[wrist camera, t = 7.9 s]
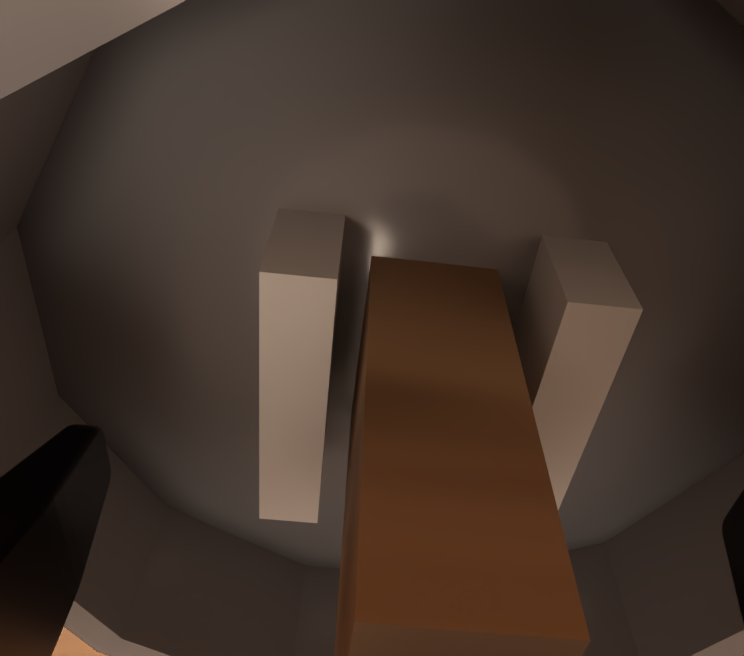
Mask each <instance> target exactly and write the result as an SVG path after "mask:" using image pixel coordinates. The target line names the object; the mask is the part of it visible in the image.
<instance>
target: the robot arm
mask: <svg viewBox="0 0 744 656" xmlns="http://www.w3.org/2000/svg"><path fill="white" fill-rule="evenodd" d="M110 478H111V464H110V459H109V454H108V449H107V444H106V439H105V434H104V431H103V430H102V428H101V427H98V426H92V425H81V424H72V425H69V426H67V427H65V428H64V429H63V430H61V431H60V432H59V433H57V434H56V435H55V436H53V437H52V438H51V439H49V440H48V441H47V442H46V443H44V444H43V445H42V446H40V447H39V448H38V449H36V450H35V451H34V452H32V453H31V454H30V455H29V456H27V457H26V458H25V459H23V460H22V461H21V462H19V463H18V464H17V465H15V466H14V467H13V468H12V469H10V470H9V471H8V472H6V473H5V474H4V475H2V476H1V477H0V656H51V655H52V653H53V651H54V648H55V646H56V643H57V641H58V639H59V636H60V634H61V631H62V629H63V627H64V624H65V622H66V619H67V617H68V614H69V612H70V610H71V607H72V605H73V602H74V600H75V597H76V594H77V592H78V589H79V586H80V583H81V580H82V577H83V573H84V570H85V567H86V563H87V560H88V556H89V553H90V549H91V546H92V543H93V539H94V536H95V532H96V529H97V525H98V522H99V518H100V515H101V511H102V508H103V504H104V501H105V497H106V494H107V491H108V487H109V483H110ZM722 536H723V541H724V545H725V549H726V553H727V557H728V562H729V566H730V570H731V574H732V578H733V583H734V587H735V591H736V595H737V600H738V604H739V608H740V612H741V616H742V621H743V624H744V489H743V490H742V492H741V493H740V495H739V496H738V498H737V499H736V501H735V502H734V504H733V505H732V507H731V508H730V510H729V511H728V513H727V514H726V516H725V517H724V520H723V523H722Z"/></svg>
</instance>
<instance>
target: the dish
mask: <svg viewBox="0 0 744 656" xmlns="http://www.w3.org/2000/svg"><path fill="white" fill-rule="evenodd" d="M371 256H380V257H389V258H398V259H407V260H417V261H426V262H435V263H444V264H453V265H463V266H472V267H481V268H490V269H498V273H499V277H500V281H501V285H502V289H503V293H504V297H505V301H506V305H507V309H508V313H509V317H510V321H511V325H512V329H513V333H514V337H515V341H516V345H517V349H518V353H519V357H520V361H521V365H522V369H523V373H524V377H525V381H526V385H527V389H528V393H529V397H530V401H531V405H532V409H533V413H534V417H535V421H536V425H537V429H538V433H539V437H540V441H541V445H542V449H543V453H544V457H545V461H546V465H547V469H548V473H549V477H550V481H551V485H552V489H553V493H554V497H555V501H556V505H557V509H558V513H559V517H560V521H561V525H562V529H563V533H564V537H565V541H566V545H567V549H568V553H569V557H570V561H571V565H572V568H573V572H574V576H575V580H576V584H577V588H578V592H579V596H580V600H581V604H582V608H583V612H584V616H585V620H586V624H587V628H588V632H589V636H590V640H591V641H590V643H589V644H588V646H587V648H586V650H585V651H584V653H583V655H582V656H743V655H744V624H743V621H742V616H741V612H740V608H739V604H738V600H737V595H736V591H735V587H734V583H733V578H732V574H731V570H730V566H729V562H728V557H727V553H726V549H725V545H724V541H723V536H722V523H723V520H724V517H725V516H726V514H727V513H728V511H729V510H730V508H731V507H732V505H733V504H734V502H735V501H736V499H737V498H738V496H739V495H740V493H741V492H742V490H743V489H744V0H0V477H1V476H2V475H4V474H5V473H6V472H8V471H9V470H10V469H12V468H13V467H14V466H15V465H17V464H18V463H19V462H21V461H22V460H23V459H25V458H26V457H27V456H29V455H30V454H31V453H32V452H34V451H35V450H36V449H38V448H39V447H40V446H42V445H43V444H44V443H46V442H47V441H48V440H49V439H51V438H52V437H53V436H55V435H56V434H57V433H59V432H60V431H61V430H63V429H64V428H65V427H67V426H69V425H72V424H81V425H92V426H98V427H101V428H102V430H103V431H104V434H105V439H106V444H107V449H108V454H109V459H110V464H111V478H110V483H109V487H108V491H107V494H106V497H105V501H104V504H103V508H102V511H101V515H100V518H99V522H98V525H97V529H96V532H95V536H94V539H93V543H92V546H91V549H90V553H89V556H88V560H87V563H86V567H85V570H84V573H83V577H82V580H81V583H80V586H79V589H78V592H77V594H76V597H75V600H74V602H73V605H72V607H71V610H70V612H69V614H68V617H67V619H66V622H65V624H64V627H65V628H67V629H68V630H69V631H71V632H72V633H73V634H75V635H76V636H77V637H79V638H80V639H81V640H82V641H84V642H85V643H86V644H88V645H89V646H90V647H92V648H93V649H94V650H96V651H97V652H100V653H103V654H106V655H109V656H334V653H335V639H336V624H337V610H338V595H339V581H340V566H341V551H342V537H343V522H344V508H345V493H346V479H347V464H348V449H349V435H350V420H351V411H352V403H353V395H354V387H355V380H356V372H357V364H358V356H359V348H360V341H361V333H362V325H363V317H364V309H365V302H366V294H367V286H368V278H369V270H370V263H371Z"/></svg>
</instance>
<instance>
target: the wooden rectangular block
mask: <svg viewBox="0 0 744 656" xmlns="http://www.w3.org/2000/svg"><path fill="white" fill-rule="evenodd" d="M590 641H591V640H590V636H589V632H588V628H587V624H586V620H585V616H584V612H583V608H582V604H581V600H580V596H579V592H578V588H577V584H576V580H575V576H574V572H573V568H572V565H571V561H570V557H569V553H568V549H567V545H566V541H565V537H564V533H563V529H562V525H561V521H560V517H559V513H558V509H557V505H556V501H555V497H554V493H553V489H552V485H551V481H550V477H549V473H548V469H547V465H546V461H545V457H544V453H543V449H542V445H541V441H540V437H539V433H538V429H537V425H536V421H535V417H534V413H533V409H532V405H531V401H530V397H529V393H528V389H527V385H526V381H525V377H524V373H523V369H522V365H521V361H520V357H519V353H518V349H517V345H516V341H515V337H514V333H513V329H512V325H511V321H510V317H509V313H508V309H507V305H506V301H505V297H504V293H503V289H502V285H501V281H500V277H499V273H498V269H490V268H481V267H472V266H463V265H453V264H444V263H435V262H426V261H417V260H407V259H398V258H389V257H380V256H371V263H370V270H369V278H368V286H367V294H366V302H365V309H364V317H363V325H362V333H361V341H360V348H359V356H358V364H357V372H356V380H355V387H354V395H353V403H352V411H351V420H350V435H349V449H348V464H347V479H346V493H345V508H344V522H343V537H342V551H341V566H340V581H339V595H338V610H337V624H336V639H335V653H334V656H582V655H583V653H584V651H585V650H586V648H587V646H588V644H589V643H590Z"/></svg>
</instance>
